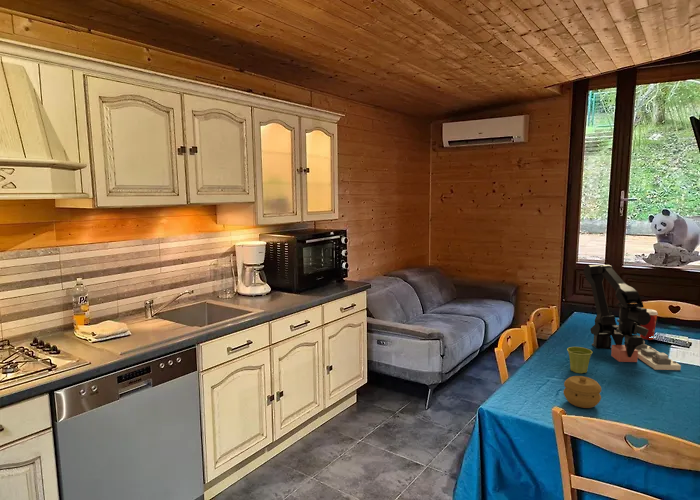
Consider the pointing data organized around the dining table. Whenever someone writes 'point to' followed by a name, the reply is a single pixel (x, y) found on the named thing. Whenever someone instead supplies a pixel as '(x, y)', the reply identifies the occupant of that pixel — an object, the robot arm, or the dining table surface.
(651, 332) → the paper cup
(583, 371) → the plant pot
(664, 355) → the breaker right
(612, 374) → the dining table surface
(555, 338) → the dining table surface
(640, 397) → the dining table surface
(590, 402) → the pot
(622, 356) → the terracotta orange block
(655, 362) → the breaker panel
